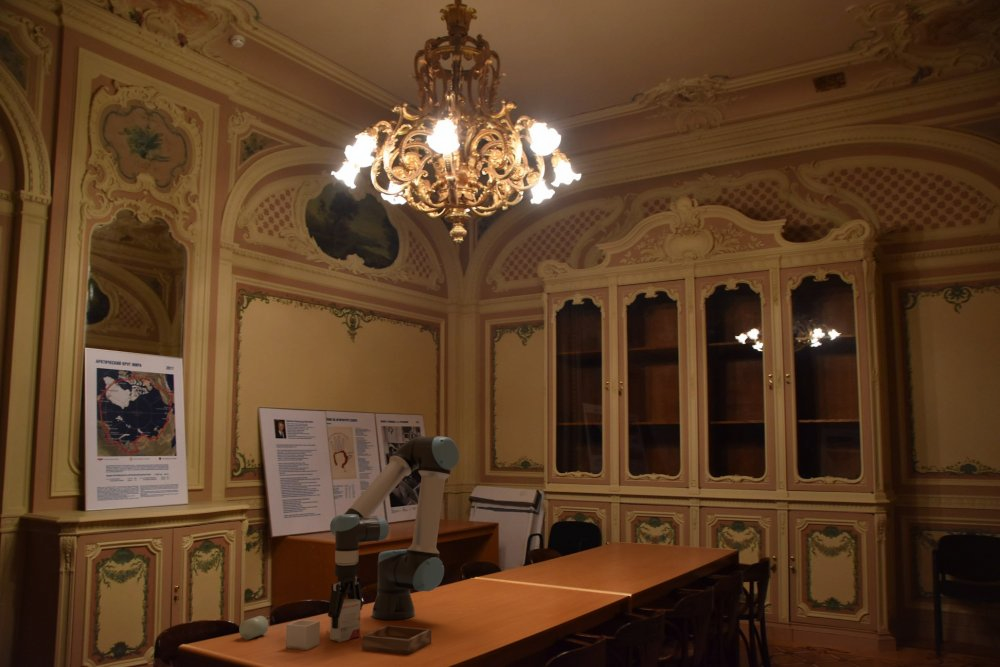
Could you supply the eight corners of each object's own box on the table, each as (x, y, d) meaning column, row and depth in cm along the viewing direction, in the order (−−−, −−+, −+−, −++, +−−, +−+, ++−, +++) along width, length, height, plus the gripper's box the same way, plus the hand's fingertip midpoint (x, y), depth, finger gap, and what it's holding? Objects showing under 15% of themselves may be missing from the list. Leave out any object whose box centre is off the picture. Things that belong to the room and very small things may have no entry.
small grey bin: (300, 642, 260) (300, 619, 261) (319, 644, 257) (319, 621, 258) (286, 648, 254) (286, 624, 254) (305, 650, 251) (306, 626, 252)
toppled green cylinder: (257, 612, 272) (270, 621, 270) (250, 629, 272) (264, 638, 270) (243, 616, 265) (257, 625, 263) (236, 634, 266) (250, 643, 263)
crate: (386, 638, 265) (386, 625, 266) (431, 642, 260) (431, 629, 260) (361, 649, 252) (362, 635, 252) (408, 654, 246) (408, 640, 246)
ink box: (351, 634, 270) (352, 597, 271) (360, 637, 266) (361, 599, 268) (329, 639, 263) (330, 601, 265) (338, 642, 260) (339, 603, 261)
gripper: (355, 557, 279) (353, 626, 277) (317, 567, 259) (315, 642, 256) (374, 559, 276) (373, 628, 274) (337, 569, 256) (335, 644, 253)
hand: (345, 634), depth 265 cm, fingers closed on ink box, 9 cm apart
